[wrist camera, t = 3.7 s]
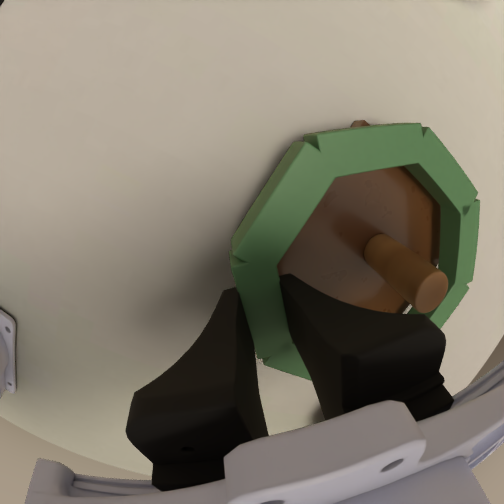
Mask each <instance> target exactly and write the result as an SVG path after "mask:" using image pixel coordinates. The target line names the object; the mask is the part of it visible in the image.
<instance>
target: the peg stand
mask: <svg viewBox="0 0 504 504" xmlns="http://www.w3.org/2000/svg"><path fill="white" fill-rule="evenodd" d="M361 126H370V125H369V124H368V123H367V122H366V121H365V120H360V121H354V123H353V124H352V126H351V127H350V128H352V127H361ZM440 226H441V205H440V204H439V203H438V202H437V201H436V200H435V199H434V197H433V196H432V195H431V194H430V193H429V192H428V191H427V190H426V188H425V187H424V186H423V185H422V184H421V183H420V182H419V181H418V180H417V179H416V178H415V177H414V176H413V175H412V174H411V172H410V171H409V170H408V169H407V168H406V167H405V166H398V167H391V168H386V169H380V170H374V171H369V172H363V173H358V174H353V175H347V176H342V177H337V178H335V179H334V181H333V182H332V184H331V185H330V187H329V188H328V190H327V191H326V193H325V194H324V196H323V198H322V199H321V201H320V202H319V204H318V205H317V207H316V208H315V210H314V211H313V213H312V214H311V216H310V217H309V219H308V220H307V222H306V223H305V225H304V226H303V228H302V229H301V231H300V232H299V233H298V235H297V236H296V238H295V239H294V241H293V242H292V244H291V245H290V247H289V248H288V250H287V251H286V253H285V254H284V256H283V257H282V258H281V260H280V261H279V263H278V264H277V269H278V274H279V276H281V275H284V274H288V273H291V274H293V275H294V276H296V277H297V278H299V279H300V280H302V281H304V282H305V283H307V284H308V285H310V286H312V287H313V288H315V289H317V290H319V291H320V292H322V293H324V294H327V295H329V296H331V297H333V298H335V299H338V300H340V301H343V302H346V303H349V304H352V305H355V306H358V307H362V308H366V309H371V310H375V311H381V312H389V313H398V314H402V313H403V312H404V311H405V309H406V308H407V307H408V305H409V304H411V305H412V306H413V307H414V308H415V309H416V310H417V311H418V312H420V313H427V312H430V311H432V310H434V309H435V308H436V307H437V306H438V305H439V304H440V303H441V302H442V300H443V299H444V297H445V295H446V292H447V289H448V279H447V276H446V275H445V273H443V272H442V271H441V270H439V269H438V268H436V266H437V265H438V263H439V251H440Z"/></svg>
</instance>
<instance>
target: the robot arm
mask: <svg viewBox="0 0 504 504" xmlns="http://www.w3.org/2000/svg"><path fill="white" fill-rule="evenodd" d="M279 278H280V281H279V283H280V288H281V293H282V298H283V303H284V308H285V313H286V318H287V323H288V328H289V333H290V336H291V338H292V340H293V342H294V344H295V346H296V348H297V350H298V352H299V354H300V356H301V358H302V360H303V362H304V364H305V367H306V369H307V371H308V373H309V375H310V377H311V380H312V382H313V385H314V388H315V390H316V393H317V396H318V399H319V402H320V405H321V408H322V411H323V414H324V417H325V420H326V421H322V422H319V423H316V424H313V425H309V426H306V427H302V428H299V429H295V430H291V431H287V432H283V433H279V434H275V435H271V436H269V435H268V431H267V426H266V422H265V418H264V413H263V409H262V404H261V400H260V395H259V388H258V378H257V368H256V358H255V348H254V342H253V339H252V335H251V332H250V328H249V325H248V322H247V318H246V315H245V311H244V308H243V305H242V301H241V298H240V294H239V292H238V291H237V288H236V287H234V288H230V289H226V290H224V291H223V293H222V295H221V297H220V300H219V302H218V304H217V306H216V308H215V310H214V312H213V314H212V316H211V318H210V320H209V322H208V323H207V325H206V327H205V328H204V330H203V331H202V333H201V335H200V336H199V337H198V339H197V340H196V341H195V343H194V344H193V345H192V346H191V347H190V349H189V350H188V351H187V352H186V353H185V354H184V355H183V356H182V357H181V358H180V359H179V360H178V361H177V362H176V363H175V364H174V365H173V366H171V367H170V368H169V369H168V370H167V371H165V372H164V373H163V374H162V375H160V376H159V377H158V378H156V379H155V380H153V381H152V382H150V383H149V384H147V385H146V386H144V387H143V388H141V389H140V390H138V391H136V392H135V393H134V396H133V399H132V402H131V406H130V411H129V416H128V421H127V426H126V434H127V438H128V439H129V440H130V441H131V443H132V444H133V445H134V446H135V447H136V448H137V449H138V450H139V451H140V452H141V453H142V454H143V455H144V456H146V457H147V458H148V459H149V460H150V461H151V462H152V463H153V471H152V480H129V479H114V478H104V477H95V476H87V475H80V474H75V473H74V472H73V471H72V470H71V469H69V468H68V467H67V466H65V465H64V464H62V463H60V462H56V461H51V460H46V459H41V458H38V459H37V462H36V465H35V469H34V472H33V475H32V478H31V482H30V485H29V489H28V493H27V497H26V500H25V504H491V503H490V502H489V500H488V498H487V496H486V494H485V493H484V491H483V489H482V488H481V486H480V484H479V482H478V481H477V479H476V477H475V476H474V474H473V473H472V471H471V470H472V469H473V468H474V467H476V466H477V465H478V464H479V463H481V462H482V461H483V460H484V459H485V458H487V457H488V456H489V455H490V454H491V453H493V452H494V451H495V450H496V449H497V448H498V447H499V446H501V445H502V444H503V443H504V361H502V362H501V363H500V364H498V365H497V366H496V367H494V368H493V369H492V370H491V371H490V372H488V373H486V374H485V375H484V376H482V377H481V378H479V379H478V380H477V381H475V382H474V383H472V384H471V385H469V386H468V387H466V388H465V389H463V390H462V391H460V392H459V393H457V394H456V395H454V396H451V395H450V393H449V392H448V391H447V390H446V388H445V387H444V386H443V383H444V381H445V380H444V377H443V376H442V375H441V374H440V372H439V369H440V366H441V362H442V359H443V355H444V352H445V346H446V338H445V334H444V333H443V332H442V331H441V330H440V329H439V328H438V327H437V326H436V324H435V323H434V322H432V321H431V320H430V319H429V318H428V317H427V316H426V315H425V314H398V313H389V312H381V311H375V310H371V309H366V308H362V307H358V306H355V305H352V304H349V303H346V302H343V301H340V300H338V299H335V298H333V297H331V296H329V295H327V294H324V293H322V292H320V291H319V290H317V289H315V288H313V287H312V286H310V285H308V284H307V283H305V282H304V281H302V280H300V279H299V278H297V277H296V276H294V275H293V274H291V273H288V274H284V275H281V276H279ZM15 332H16V324H15V321H14V320H13V318H12V317H10V316H9V315H8V314H6V313H5V312H4V311H2V310H1V309H0V398H1V396H2V394H3V392H4V391H5V389H6V390H8V391H9V392H11V393H13V394H14V393H15V392H16V376H15Z"/></svg>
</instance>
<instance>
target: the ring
mask: <svg viewBox="0 0 504 504" xmlns="http://www.w3.org/2000/svg"><path fill="white" fill-rule="evenodd" d="M303 137H304V142H296V141H295V142H293V143H292V145H291V146H290V148H289V149H288V151H287V152H286V154H285V155H284V157H283V159H282V160H281V162H280V163H279V165H278V166H277V168H276V169H275V171H274V172H273V174H272V175H271V177H270V179H269V180H268V182H267V183H266V185H265V186H264V188H263V189H262V191H261V193H260V194H259V196H258V197H257V199H256V200H255V202H254V203H253V205H252V207H251V208H250V210H249V211H248V213H247V215H246V216H245V218H244V219H243V221H242V222H241V224H240V226H239V227H238V229H237V230H236V232H235V234H234V235H233V237H232V238H231V245H232V250H230V251H229V258H230V265H231V270H232V274H233V277H234V281H235V284H236V288H237V291H238V292H239V294H240V298H241V301H242V305H243V308H244V311H245V315H246V318H247V322H248V325H249V328H250V332H251V335H252V339H253V342H254V348H255V352H256V355H257V358H258V359H261V358H262V359H263V364H264V365H266V366H269V367H271V368H274V369H277V370H280V371H283V372H286V373H289V374H292V375H296V376H299V377H302V378H305V379H308V380H311V377H310V375H309V373H308V371H307V369H306V367H305V364H304V362H303V360H302V358H301V356H300V354H299V352H298V350H297V348H296V346H295V344H294V342H293V340H292V338H291V336H290V333H289V328H288V323H287V318H286V313H285V308H284V303H283V298H282V293H281V288H280V283H279V281H280V278H279V274H278V269H277V264H278V263H279V261H280V260H281V258H282V257H283V256H284V254H285V253H286V251H287V250H288V248H289V247H290V245H291V244H292V242H293V241H294V239H295V238H296V236H297V235H298V233H299V232H300V231H301V229H302V228H303V226H304V225H305V223H306V222H307V220H308V219H309V217H310V216H311V214H312V213H313V211H314V210H315V208H316V207H317V205H318V204H319V202H320V201H321V199H322V198H323V196H324V194H325V193H326V191H327V190H328V188H329V187H330V185H331V184H332V182H333V181H334V179H335V178H337V177H342V176H347V175H353V174H358V173H363V172H369V171H374V170H380V169H386V168H391V167H398V166H405V167H406V168H407V169H408V170H409V171H410V172H411V174H412V175H413V176H414V177H415V178H416V179H417V180H418V181H419V182H420V183H421V184H422V185H423V186H424V187H425V188H426V190H427V191H428V192H429V193H430V194H431V195H432V196H433V197H434V199H435V200H436V201H437V202H438V203H439V204H440V205H441V226H440V251H439V265H438V269H439V270H441V271H442V272H443V273H445V275H446V276H447V279H448V289H447V292H446V295H445V297H444V299H443V300H442V302H441V303H440V304H439V305H438V306H437V307H436V308H435V309H434V310H432V311H430V312H427V313H420V312H418V311H417V310H416V309H415V308H414V307H412V308H411V309H410V311H409V312H408V313H407V314H425V315H426V316H427V317H428V318H429V319H430V320H431V321H432V322H434V323H435V324H436V326H437V327H438V328H439V329H441V327H442V326H443V325H444V323H445V322H446V321H447V319H448V318H449V317H450V315H451V314H452V313H453V311H454V310H455V308H456V307H457V306H458V304H459V303H460V301H461V300H462V298H463V297H464V295H465V294H466V292H467V291H468V289H469V287H468V286H467V285H466V284H467V283H469V282H471V281H472V280H473V273H474V266H475V259H476V251H477V241H478V229H479V212H480V200H478V199H475V198H476V196H477V194H478V192H477V190H476V189H475V187H474V186H473V184H472V183H471V181H470V180H469V178H468V177H467V175H466V174H465V173H464V171H463V170H462V168H461V167H460V166H459V164H458V163H457V162H456V160H455V159H454V158H453V156H452V155H451V154H450V152H449V151H448V150H447V148H446V147H445V146H444V145H443V143H442V142H441V141H440V140H439V139H438V137H437V136H436V135H435V134H434V133H433V131H432V130H431V129H430V128H429V127H422V126H421V123H392V124H381V125H370V126H361V127H352V128H344V129H337V130H330V131H323V132H316V133H310V134H304V135H303Z"/></svg>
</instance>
